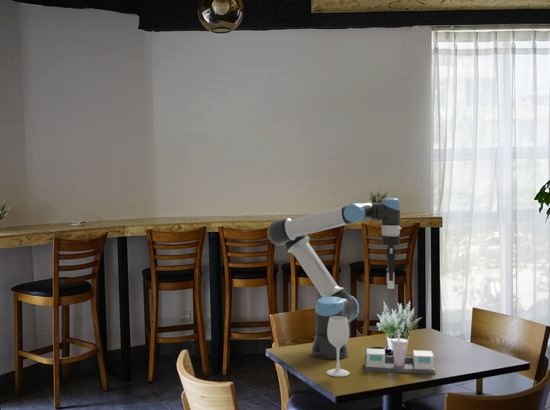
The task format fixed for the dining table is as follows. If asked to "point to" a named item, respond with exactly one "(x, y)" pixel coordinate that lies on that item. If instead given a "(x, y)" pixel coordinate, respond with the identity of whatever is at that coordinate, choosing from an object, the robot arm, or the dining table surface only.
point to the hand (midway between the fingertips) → (390, 286)
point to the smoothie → (399, 350)
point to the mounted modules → (419, 359)
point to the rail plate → (399, 367)
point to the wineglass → (338, 340)
